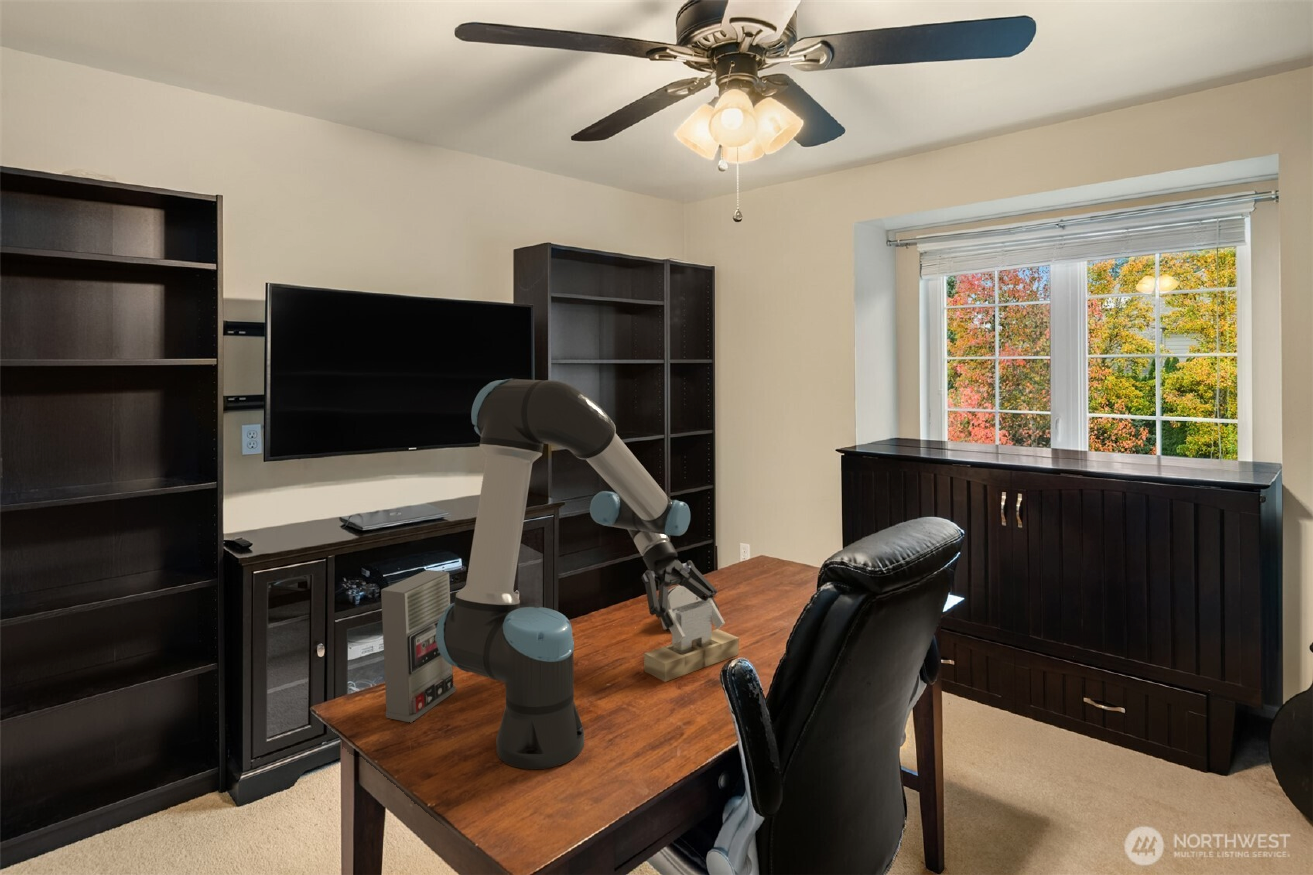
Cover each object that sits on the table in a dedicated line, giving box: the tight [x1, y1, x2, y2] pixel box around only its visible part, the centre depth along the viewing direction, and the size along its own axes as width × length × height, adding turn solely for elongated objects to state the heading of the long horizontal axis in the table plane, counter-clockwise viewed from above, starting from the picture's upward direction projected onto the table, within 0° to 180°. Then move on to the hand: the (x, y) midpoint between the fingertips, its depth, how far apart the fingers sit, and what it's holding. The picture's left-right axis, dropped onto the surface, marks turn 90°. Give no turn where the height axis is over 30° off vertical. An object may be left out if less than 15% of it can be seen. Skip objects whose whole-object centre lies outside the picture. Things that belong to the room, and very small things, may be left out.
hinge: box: [660, 584, 702, 630], centre depth 188 cm, size 17×5×10 cm, turn 148°
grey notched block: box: [671, 600, 713, 655], centre depth 161 cm, size 9×3×13 cm, turn 129°
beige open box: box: [643, 628, 740, 683], centre depth 162 cm, size 22×7×4 cm, turn 129°
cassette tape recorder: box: [380, 569, 457, 724], centre depth 141 cm, size 14×6×25 cm, turn 160°
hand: (701, 632), depth 159 cm, fingers open, 11 cm apart
